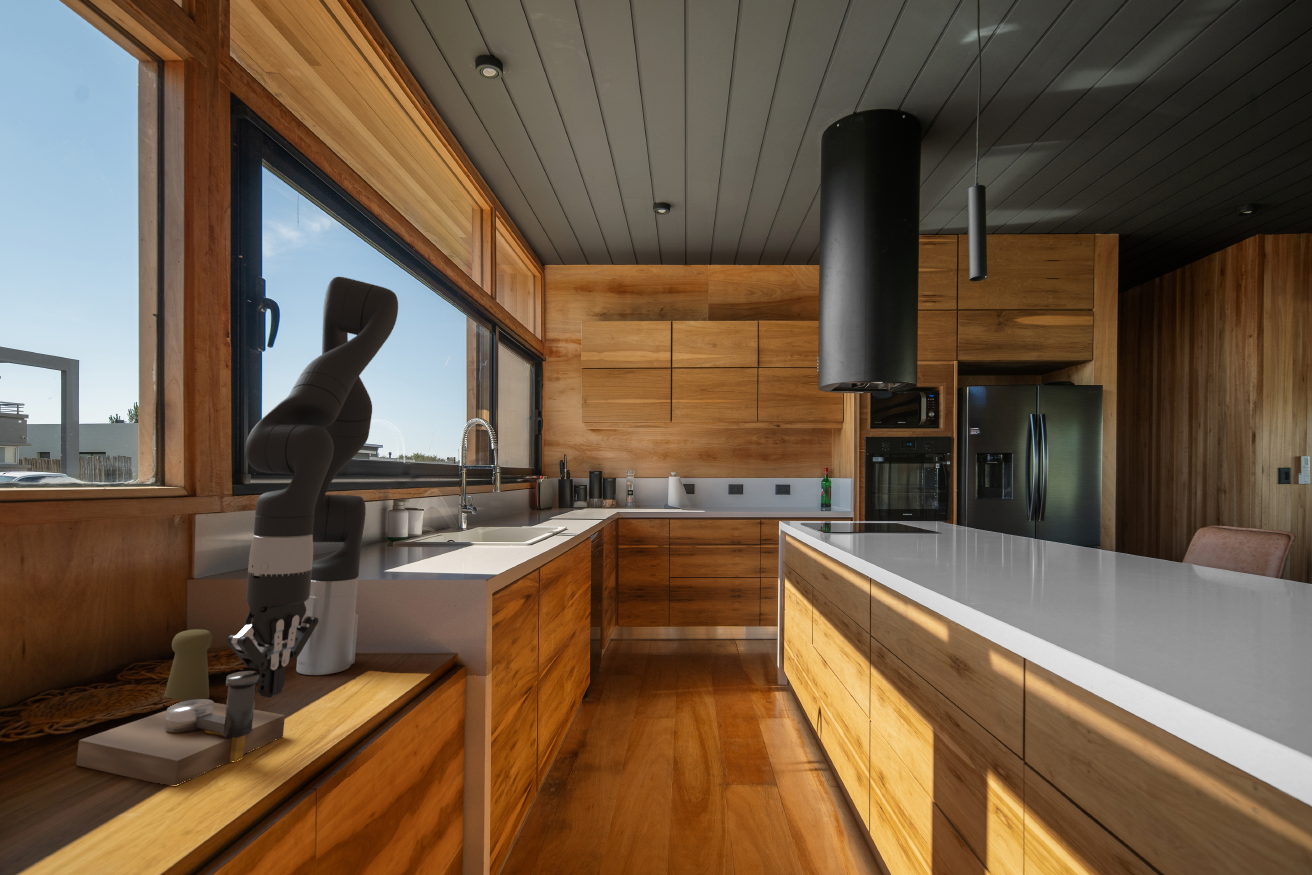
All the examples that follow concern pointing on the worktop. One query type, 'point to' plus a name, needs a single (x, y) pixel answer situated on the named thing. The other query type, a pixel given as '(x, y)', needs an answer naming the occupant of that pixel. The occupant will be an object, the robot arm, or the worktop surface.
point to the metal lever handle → (201, 710)
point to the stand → (172, 747)
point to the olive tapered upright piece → (189, 666)
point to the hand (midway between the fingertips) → (270, 694)
